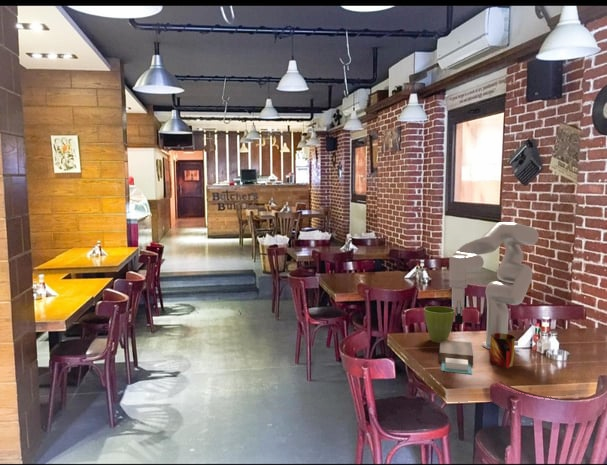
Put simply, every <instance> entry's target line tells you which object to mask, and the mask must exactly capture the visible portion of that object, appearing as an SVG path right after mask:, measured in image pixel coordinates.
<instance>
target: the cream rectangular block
mask: <svg viewBox="0 0 607 465" xmlns="http://www.w3.org/2000/svg"><path fill="white" fill-rule="evenodd" d="M445 368H449V369H459V370H468V360H463V359H453V358H446V364H445Z"/></svg>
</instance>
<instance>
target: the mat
mask: <svg viewBox="0 0 607 465" xmlns="http://www.w3.org/2000/svg"><path fill="white" fill-rule="evenodd" d="M445 364H446V362H445V361H442V362H441V365H440V366H441V368H440V372H443V371H445V373H453V372H455V373H454V374H462V373H464V375H473V372H472V365H471V364H468V370H459V369H449V368H445Z"/></svg>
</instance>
